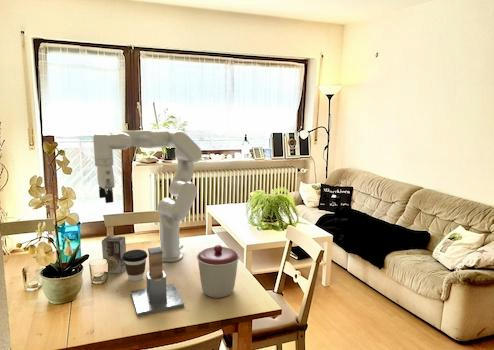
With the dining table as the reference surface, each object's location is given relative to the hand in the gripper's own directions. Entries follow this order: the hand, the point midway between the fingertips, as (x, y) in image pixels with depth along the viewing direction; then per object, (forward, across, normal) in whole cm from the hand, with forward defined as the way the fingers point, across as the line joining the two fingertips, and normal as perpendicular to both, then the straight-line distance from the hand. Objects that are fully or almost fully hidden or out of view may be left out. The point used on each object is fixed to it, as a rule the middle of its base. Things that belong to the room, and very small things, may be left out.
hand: (106, 199), depth 170 cm
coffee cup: (+37, -9, -9) cm, 39 cm away
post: (+34, -32, -9) cm, 48 cm away
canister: (+37, -40, -34) cm, 64 cm away
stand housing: (+36, -32, -9) cm, 50 cm away
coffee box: (+37, +5, -4) cm, 37 cm away
